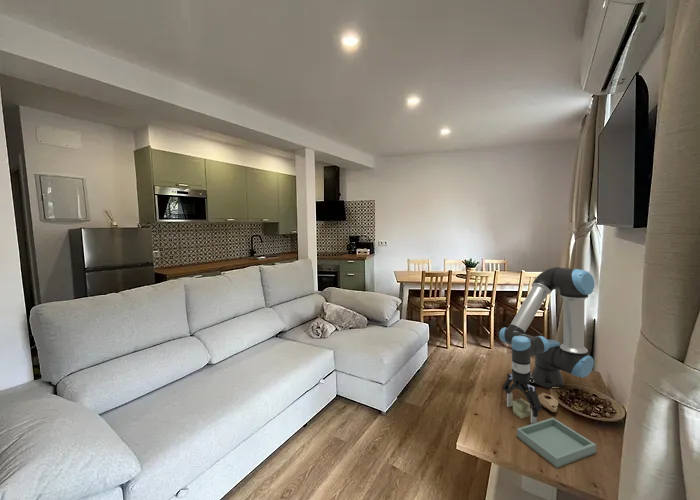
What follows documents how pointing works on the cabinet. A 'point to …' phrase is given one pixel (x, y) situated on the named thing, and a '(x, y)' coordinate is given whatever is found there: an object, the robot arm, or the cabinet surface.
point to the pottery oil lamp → (548, 402)
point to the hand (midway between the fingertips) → (521, 414)
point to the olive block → (521, 408)
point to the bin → (556, 442)
